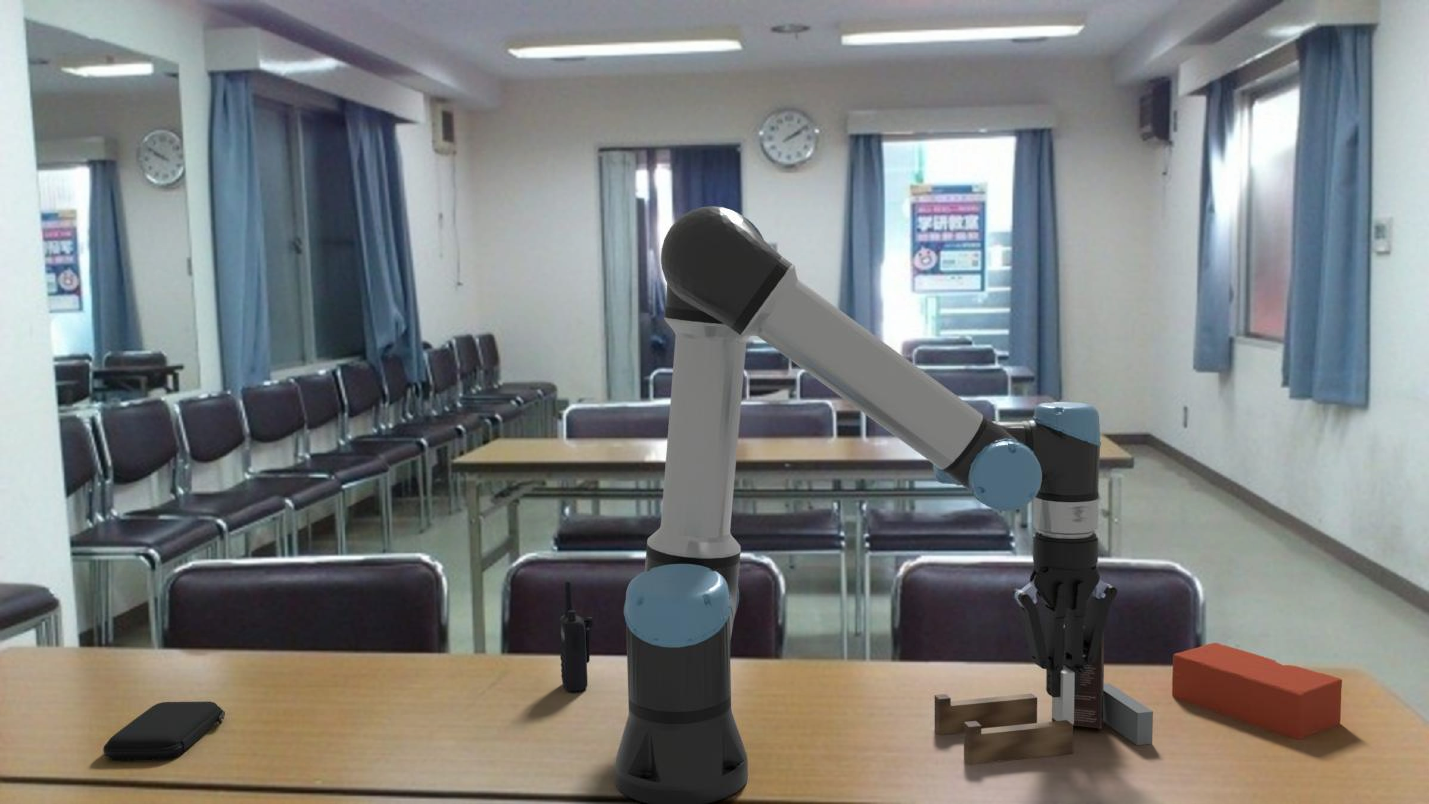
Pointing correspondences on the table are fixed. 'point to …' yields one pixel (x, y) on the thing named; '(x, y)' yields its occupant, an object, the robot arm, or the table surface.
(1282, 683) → the brick
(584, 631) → the two-way radio
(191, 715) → the carrying case or bag
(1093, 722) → the box
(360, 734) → the table surface
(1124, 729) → the end stop
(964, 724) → the brown piece
